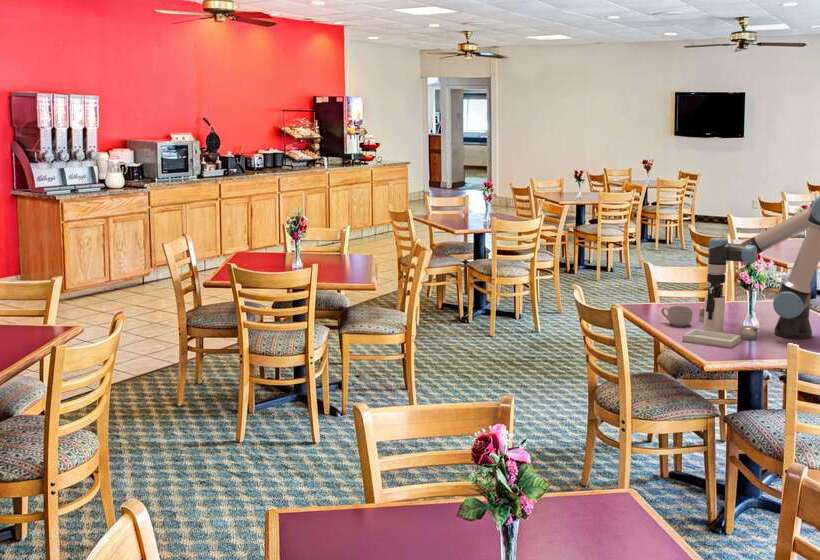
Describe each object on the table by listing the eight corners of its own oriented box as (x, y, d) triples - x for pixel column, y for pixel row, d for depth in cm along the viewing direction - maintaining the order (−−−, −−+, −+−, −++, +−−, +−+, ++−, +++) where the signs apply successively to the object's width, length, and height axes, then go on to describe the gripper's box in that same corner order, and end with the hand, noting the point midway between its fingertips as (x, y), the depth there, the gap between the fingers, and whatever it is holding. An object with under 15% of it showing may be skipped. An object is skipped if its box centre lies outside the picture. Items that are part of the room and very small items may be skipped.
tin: (758, 338, 398) (759, 326, 397) (754, 341, 392) (755, 330, 391) (742, 336, 402) (742, 324, 401) (737, 339, 396) (738, 327, 395)
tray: (740, 341, 391) (740, 335, 391) (730, 348, 380) (731, 341, 379) (693, 335, 402) (693, 328, 402) (682, 341, 391) (682, 335, 391)
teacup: (696, 325, 422) (697, 308, 420) (684, 329, 414) (685, 311, 413) (668, 320, 431) (669, 303, 430) (656, 324, 424) (657, 306, 422)
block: (710, 320, 433) (711, 307, 432) (710, 322, 428) (711, 309, 427) (699, 319, 434) (700, 306, 433) (699, 321, 430) (699, 308, 429)
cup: (725, 334, 404) (727, 298, 402) (706, 334, 404) (708, 297, 402) (719, 329, 412) (721, 294, 410) (700, 329, 413) (702, 294, 410)
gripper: (715, 269, 415) (712, 319, 418) (700, 276, 398) (697, 327, 402) (732, 271, 410) (729, 321, 414) (717, 277, 393) (714, 330, 397)
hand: (713, 324), depth 408 cm, fingers closed on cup, 8 cm apart
